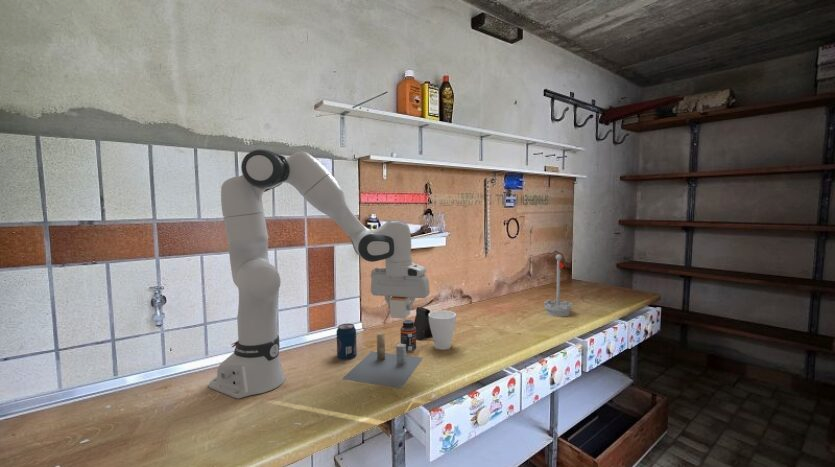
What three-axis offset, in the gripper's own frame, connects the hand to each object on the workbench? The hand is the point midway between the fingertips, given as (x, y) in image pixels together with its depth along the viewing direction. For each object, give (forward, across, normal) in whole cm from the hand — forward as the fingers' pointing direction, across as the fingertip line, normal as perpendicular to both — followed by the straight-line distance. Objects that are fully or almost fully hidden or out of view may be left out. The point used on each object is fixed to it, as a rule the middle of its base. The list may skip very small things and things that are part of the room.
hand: (400, 309), depth 120 cm
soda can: (+20, -21, 0) cm, 29 cm away
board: (+20, -4, -5) cm, 21 cm away
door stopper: (+21, -2, +29) cm, 36 cm away
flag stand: (+22, +54, +78) cm, 98 cm away
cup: (+20, +10, +18) cm, 29 cm away
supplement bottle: (+20, -2, +13) cm, 24 cm away
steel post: (+19, 0, 0) cm, 19 cm away
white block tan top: (+2, 0, 0) cm, 2 cm away
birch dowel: (+19, -8, +1) cm, 21 cm away
